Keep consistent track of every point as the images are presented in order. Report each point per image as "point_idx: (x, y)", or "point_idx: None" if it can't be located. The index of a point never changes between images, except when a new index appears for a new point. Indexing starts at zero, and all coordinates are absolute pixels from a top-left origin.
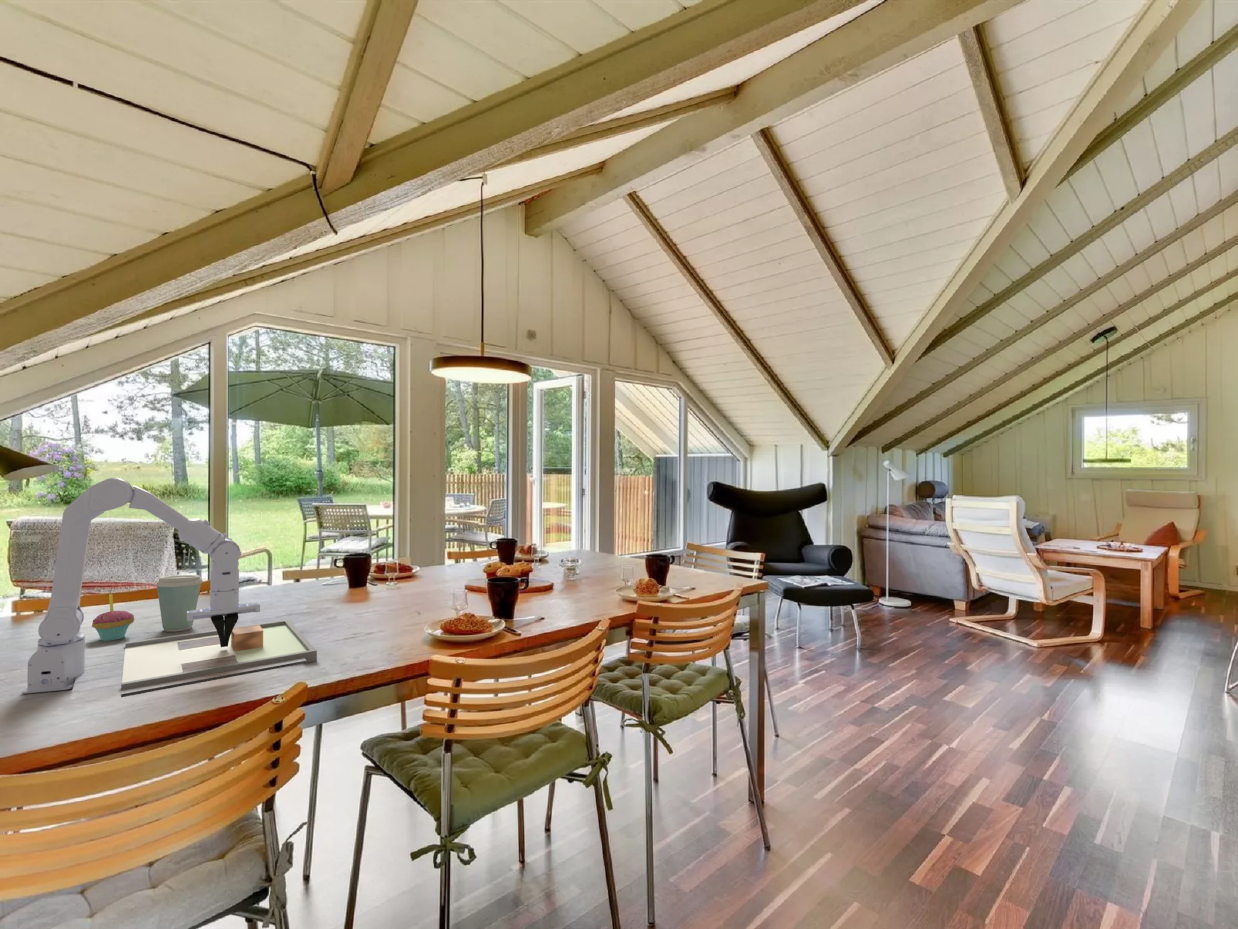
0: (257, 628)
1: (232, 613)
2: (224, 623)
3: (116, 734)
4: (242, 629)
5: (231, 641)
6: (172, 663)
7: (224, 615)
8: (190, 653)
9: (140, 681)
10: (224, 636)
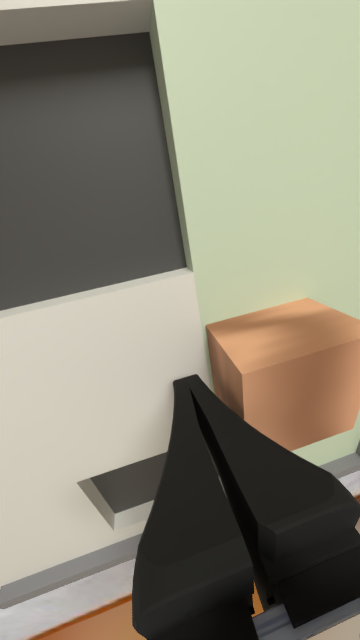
0: (349, 395)
1: (334, 615)
2: (226, 460)
3: (94, 614)
4: (291, 397)
5: (214, 347)
6: (41, 478)
7: (267, 623)
8: (57, 391)
9: (40, 593)
10: (200, 415)
